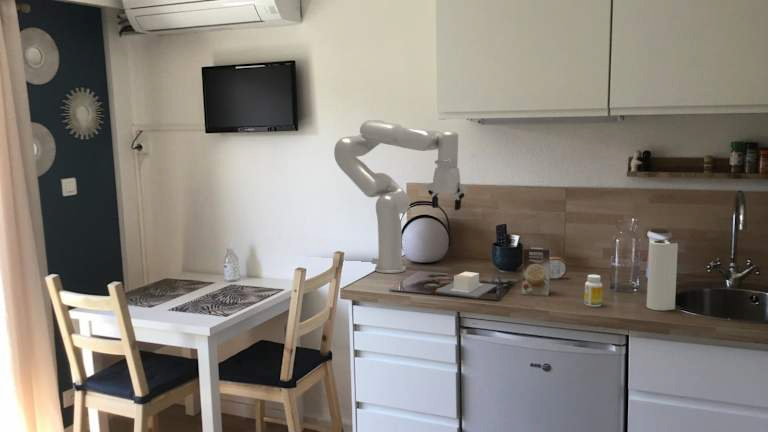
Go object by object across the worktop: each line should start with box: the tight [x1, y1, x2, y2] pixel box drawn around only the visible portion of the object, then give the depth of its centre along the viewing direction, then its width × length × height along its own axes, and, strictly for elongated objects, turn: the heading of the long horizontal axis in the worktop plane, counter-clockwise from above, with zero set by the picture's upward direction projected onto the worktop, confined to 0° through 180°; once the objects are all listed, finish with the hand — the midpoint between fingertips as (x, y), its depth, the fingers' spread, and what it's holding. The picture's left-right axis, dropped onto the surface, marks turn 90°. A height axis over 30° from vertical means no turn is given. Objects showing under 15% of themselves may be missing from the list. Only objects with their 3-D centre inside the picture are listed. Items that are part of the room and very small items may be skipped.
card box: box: [453, 271, 480, 291], centre depth 231 cm, size 9×6×5 cm, turn 146°
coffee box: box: [521, 245, 551, 297], centre depth 224 cm, size 9×6×16 cm
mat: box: [434, 281, 498, 299], centre depth 231 cm, size 16×18×1 cm
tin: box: [549, 256, 568, 280], centre depth 245 cm, size 15×3×8 cm, turn 84°
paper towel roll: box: [646, 240, 679, 311], centre depth 203 cm, size 7×6×21 cm
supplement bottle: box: [583, 274, 603, 308], centre depth 209 cm, size 5×5×10 cm
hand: (446, 208), depth 250 cm, fingers open, 9 cm apart
